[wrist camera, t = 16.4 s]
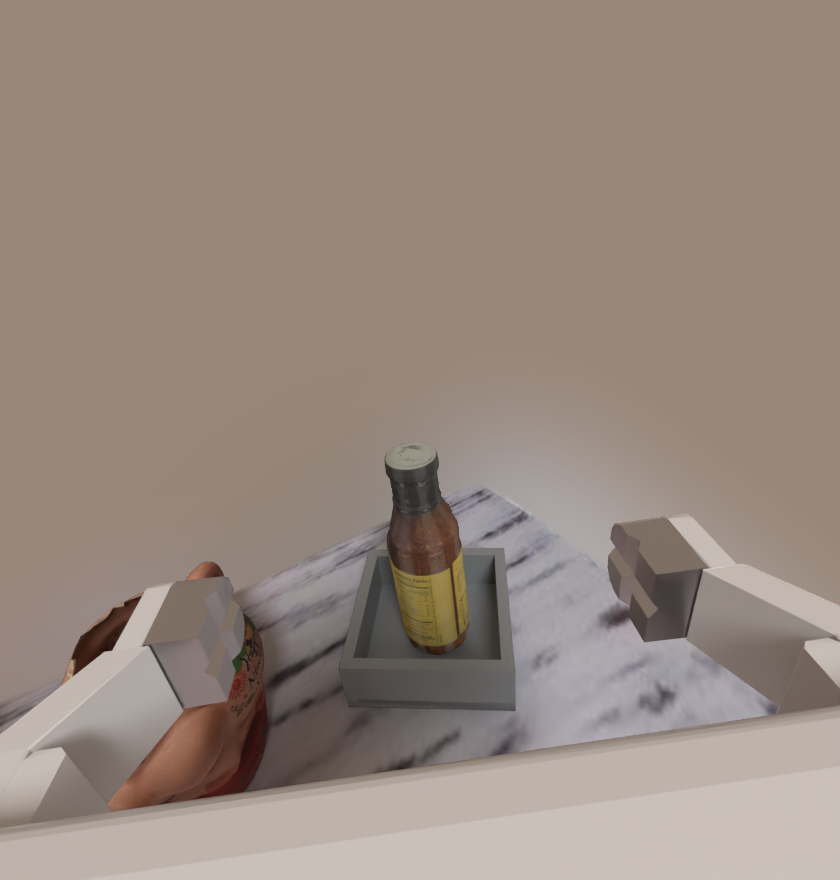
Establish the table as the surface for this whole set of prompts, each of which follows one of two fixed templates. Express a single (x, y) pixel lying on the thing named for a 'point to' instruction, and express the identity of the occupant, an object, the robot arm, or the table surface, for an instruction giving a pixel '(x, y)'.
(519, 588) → the table surface
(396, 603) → the tray
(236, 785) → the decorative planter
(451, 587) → the sauce bottle
